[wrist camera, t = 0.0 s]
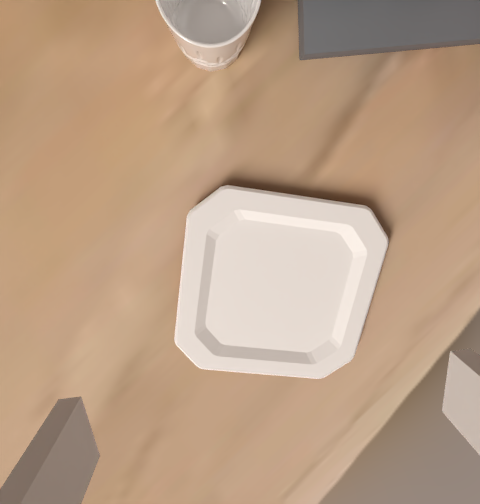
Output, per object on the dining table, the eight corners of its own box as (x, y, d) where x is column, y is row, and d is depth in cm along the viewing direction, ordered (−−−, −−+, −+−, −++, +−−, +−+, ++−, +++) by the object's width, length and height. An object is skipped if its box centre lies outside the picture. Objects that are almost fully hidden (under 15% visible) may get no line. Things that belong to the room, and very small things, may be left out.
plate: (390, 207, 39) (400, 210, 37) (341, 372, 46) (347, 382, 44) (192, 178, 36) (190, 179, 34) (173, 357, 43) (171, 368, 41)
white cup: (241, -21, 30) (251, -100, 21) (256, 69, 33) (271, 34, 23) (162, -3, 30) (136, -75, 21) (183, 85, 33) (169, 57, 23)
